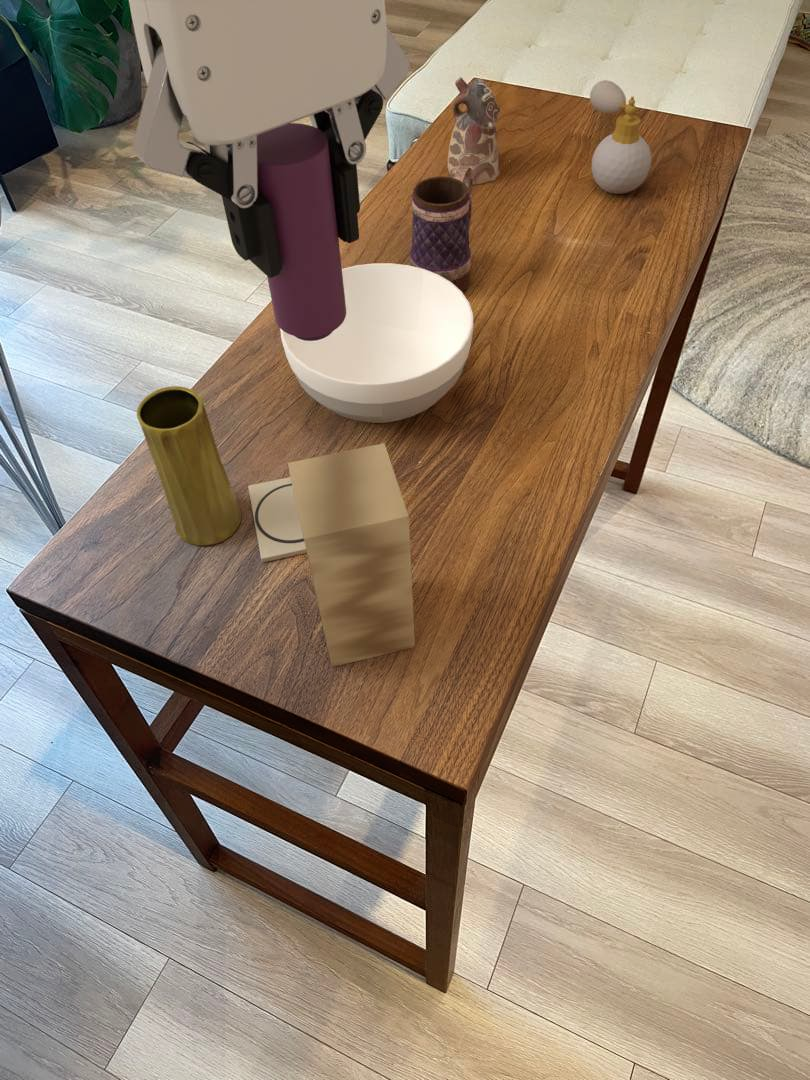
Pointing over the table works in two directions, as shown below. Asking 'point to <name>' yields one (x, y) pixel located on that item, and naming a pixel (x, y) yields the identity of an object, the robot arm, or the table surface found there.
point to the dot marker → (302, 230)
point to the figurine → (475, 131)
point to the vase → (189, 465)
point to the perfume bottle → (619, 143)
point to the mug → (443, 225)
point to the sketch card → (276, 519)
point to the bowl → (387, 345)
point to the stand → (357, 551)
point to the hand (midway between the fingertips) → (300, 243)
